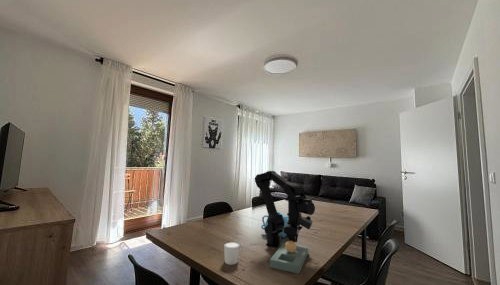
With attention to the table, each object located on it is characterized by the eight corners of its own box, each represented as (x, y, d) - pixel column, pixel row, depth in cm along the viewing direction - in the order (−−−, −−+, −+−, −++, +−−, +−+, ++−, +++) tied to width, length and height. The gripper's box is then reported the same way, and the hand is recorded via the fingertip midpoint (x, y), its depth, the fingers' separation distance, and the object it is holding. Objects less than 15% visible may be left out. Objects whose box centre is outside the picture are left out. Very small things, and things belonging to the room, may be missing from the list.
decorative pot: (279, 229, 141) (279, 208, 143) (296, 236, 128) (296, 213, 129) (259, 233, 132) (259, 210, 134) (275, 241, 119) (275, 215, 120)
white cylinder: (239, 258, 96) (239, 242, 96) (239, 265, 89) (239, 247, 90) (224, 258, 95) (224, 241, 96) (222, 265, 89) (223, 247, 89)
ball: (284, 253, 96) (283, 243, 95) (286, 247, 100) (286, 237, 100) (295, 256, 93) (294, 245, 93) (297, 249, 98) (297, 239, 97)
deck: (269, 267, 88) (269, 259, 88) (283, 248, 108) (283, 242, 108) (298, 273, 83) (298, 265, 83) (307, 253, 103) (308, 246, 103)
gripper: (308, 216, 92) (308, 254, 91) (313, 209, 109) (314, 240, 108) (283, 214, 97) (283, 250, 95) (292, 207, 114) (292, 237, 112)
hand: (294, 244), depth 102 cm, fingers open, 6 cm apart
